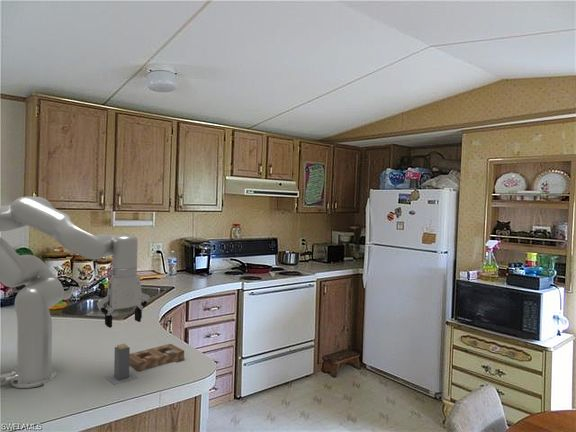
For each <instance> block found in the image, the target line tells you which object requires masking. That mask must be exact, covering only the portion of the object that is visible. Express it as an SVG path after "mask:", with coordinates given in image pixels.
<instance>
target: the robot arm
mask: <svg viewBox="0 0 576 432" xmlns="http://www.w3.org/2000/svg"><path fill="white" fill-rule="evenodd" d="M27 226H28V227H29V228H32V229H35V230H36V231H39V232H41V233H43V234H44V235H47V236H49V237H51V238H53V239H54V240H55V241H56V242H57V243H58V244H59V245H61V246H62V248H65V249H67V250H68V251H70V252H71V253H75V254H76V255H78V256H81V257H83V258H86V259H89V260H100V259H102V258H104V257H108V256H112V268H111V269H110V270H108V272H107V273H108V276H110V278H109V282H108V288H107V295H106V296H105V297H103V298H102V299H100V300H99V301H97V302H96V305H97V308H98V309H99V311H100V312H102V313H103V314H104V324H105V327H108V328H113V315H112V313H113V312H114V311H115V310H122V309H128V308H134V307H135V309H134V321H136V322H138V323H141V321H142V318H143V316H142V315H143V310H144V308H145V306H146V305H147V304H148V302H149V299H150V296H151V295H149V294H146V293H144V292H142V284H141V283H142V282H141V279H140V275H138V237H136V236H135V235H132V234H131V235H129V234H127V235H126V234H124V235H123V234H121V235H118V234H117V235H116V234H109V233H100V234H92V233H90V232H87V231H85V230H84V229H82V228H80V227H78V226H77V225H75V224H74V223H73V222H72V220H71V216H70V215H69V214H68V213H65V212H63V211H61V210H58V209H57V208H55V207H53V205H52V203H51V202H50V201H49V200H48V199H46V198H44V197H42V196H30V195H29V196H21V197H18V198H16V199H15V200H14V201H12V203H10V204H7V205H0V232H7V231H12V230H16V229H20V228H23V227H27ZM0 283H1V284H2V285H4V286H5V287H8V288H15V287H19V286H23V285H24V287H23V288H21V289H20V290H19V291H18V292H17V294H16V296H15V299H14V308H15V314H16V323H17V324H16V325H17V326H16V327H17V330H16V331H17V339H16V340H17V345H16V346H17V352H16V353H17V354H16V363H17V364H16V367H14V370H11V371H10V372H8V373H1V374H0V382H2V381H5V383H8V382H10V385H11V386H12V387H13V388H17V389H31V388H36V387H40V386H43V385H44V384H46V383H48V382H50V381H52V380H54V379H55V378H56V377H57V375H58V374H57V371H56V370H55V369H52V366H53V365H52V363H53V361H52V358H53V357H52V355H53V353H52V351H53V322H52V321H53V320H52V316H51V313H50V308H51V307H53V306H55V305H57V304H58V303H60V302H61V301H62V299H63V297H64V295H65V290H64V286H63V283H61V281H60V280H59V279H58V277H57V276H56V275H55V274H54V273H53V272H52V270H51V269H50V268H49V267H48V266H47V264H46V263H45V262H44V260H42V259H40V258H39V257H38V256H37V255H36V256H35V255H32V254H22V255H20V254H19V253H17V252H16V250H14V248H13V247H12V246H11V244H10V243H9V242H8V241H7V240H5V239H4V238H3V237H1V236H0ZM105 304H107V306H106V307H104V305H105Z"/></svg>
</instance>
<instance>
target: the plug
mask: <svg viewBox="0 0 576 432" xmlns="http://www.w3.org/2000/svg"><path fill="white" fill-rule="evenodd" d="M130 354H131V350H130V347H129V346H128V345H127V344H126V343H121V344H117V345H116V346H115V347H114V361H113V363H114V364H113V365H114V368H113V369H114V370H113V372H114V373H113V374H114V377H115V378H116V379H117V380H118V381H119V380H123V379H126V378H129V371H130V366H129V357H130Z"/></svg>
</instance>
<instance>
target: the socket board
mask: <svg viewBox="0 0 576 432" xmlns="http://www.w3.org/2000/svg"><path fill="white" fill-rule="evenodd" d="M182 361H185V350H184V349H181V348H180V347H178V346H176V345H174V344H173V343H168V344H164V345H161V346H160V345H159V346H156V347H152V348H148V349H145V350H144V349H143V350H140V351H135V352H132V353H131V352H130V357H129V367H131V368H132V369H134V370H135V371H136V372H141V371H142V372H143V371H146V370H148V369H152V368H155V367H158V366H163V365H167V364H170V363H174V362H175V363H178V362H182Z"/></svg>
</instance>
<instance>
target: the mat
mask: <svg viewBox="0 0 576 432" xmlns="http://www.w3.org/2000/svg"><path fill="white" fill-rule="evenodd" d="M104 378H105V379H106V380H107V381H109V383H111V384H112V385H113V386H116V385H117V386H118V385H120V384H123V383H126V382H130V381H133V380H136V379H139V377H138V376H136V374H134V373H133V372H131V371H130V370H129V378H126V379H123V380H119V381H118V380H117V379H116V378H115V377H114V373H113V374H109V375H106V376H104Z"/></svg>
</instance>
